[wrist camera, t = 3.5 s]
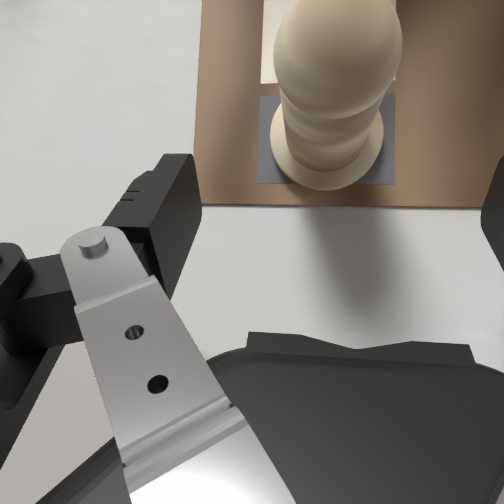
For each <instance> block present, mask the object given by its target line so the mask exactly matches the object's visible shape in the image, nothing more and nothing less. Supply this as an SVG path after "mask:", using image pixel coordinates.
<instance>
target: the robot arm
mask: <svg viewBox="0 0 504 504" xmlns="http://www.w3.org/2000/svg"><path fill="white" fill-rule="evenodd" d="M201 216H202V204H201V197H200V191H199V185H198V179H197V173H196V167H195V161H194V158H193V156H192V154H164V155H163V156H162V158H161V159H160V161H159V162H158V164H157V165H156V167H155V169H154V170H153V171H146V172H145V173H143V174H142V175H140V176H139V177H137V178H136V179H134V180H133V182H132V183H131V184H130V186H129V187H128V189H127V190H126V193H124V194H123V196H122V197H121V199H120V201H119V202H118V203H117V204H116V206H115V207H114V209H113V210H112V212H111V213H110V214H109V216H108V217H107V219H106V220H105V222H104V223H103V224H102V226H100V227H93V228H89V229H86V230H83V231H81V232H79V233H77V234H75V235H73V236H72V237H71V238H69V239H68V240H67V241H66V242H65V243H64V244H63V246H62V248H61V250H60V254H56V255H51V256H45V257H40V258H34V259H28V260H27V258H26V257H25V255H24V253H23V251H22V249H21V248H20V247H19V246H18V245H16V244H13V243H0V469H1V468H2V466H3V464H4V462H5V460H6V458H7V456H8V454H9V452H10V450H11V448H12V446H13V444H14V443H15V441H16V439H17V437H18V435H19V433H20V431H21V429H22V427H23V425H24V423H25V421H26V419H27V417H28V416H29V414H30V412H31V409H32V408H33V406H34V404H35V402H36V400H37V398H38V396H39V394H40V392H41V390H42V389H43V387H44V384H45V383H46V381H47V379H48V377H49V375H50V373H51V371H52V369H53V367H54V365H55V363H56V361H57V360H58V358H59V355H60V354H61V352H62V350H63V348H64V346H65V344H70V343H75V342H80V341H84V342H85V345H86V348H87V352H88V354H89V358H90V361H91V364H92V367H93V370H94V374H95V377H96V380H97V383H98V386H99V389H100V393H101V396H102V399H103V402H104V405H105V408H106V411H107V414H108V418H109V421H110V424H111V427H112V430H113V434H114V437H113V438H112V439H110V440H109V441H108V442H107V443H106V444H105V445H103V446H102V447H101V448H100V449H99V450H98V451H96V452H95V453H94V454H93V455H92V456H91V457H89V458H88V459H87V460H86V461H85V462H83V463H82V464H81V465H80V466H79V467H78V468H77V469H75V470H74V471H73V472H72V473H71V474H69V475H68V476H67V477H66V478H65V479H64V480H62V481H61V482H60V483H59V484H58V485H57V486H55V487H54V488H53V489H52V490H51V491H50V492H48V493H47V494H46V495H45V496H44V497H43V498H41V499H40V500H39V501H38V502H37V503H36V504H504V373H502V372H500V371H498V370H495V369H493V368H490V367H487V366H484V365H481V364H478V363H475V360H474V357H473V354H472V352H471V349H470V346H469V345H467V344H450V343H433V342H417V341H410V342H404V343H397V344H391V345H384V346H378V347H371V348H365V349H352V348H347V347H344V346H340V345H336V344H333V343H329V342H325V341H322V340H318V339H314V338H311V337H307V336H303V335H298V334H281V333H264V332H249V333H248V339H247V345H246V347H245V348H239V349H235V350H231V351H228V352H225V353H222V354H220V355H217V356H214V357H213V358H211V359H209V360H207V361H205V359H204V358H203V356H202V354H201V353H200V351H199V349H198V347H197V346H196V344H195V342H194V341H193V339H192V337H191V336H190V334H189V332H188V331H187V329H186V327H185V326H184V324H183V322H182V321H181V319H180V317H179V315H178V314H177V312H176V310H175V309H174V307H173V305H172V304H171V302H170V300H171V298H172V295H173V293H174V290H175V287H176V285H177V282H178V280H179V277H180V274H181V272H182V269H183V267H184V264H185V261H186V259H187V256H188V254H189V251H190V248H191V246H192V243H193V241H194V238H195V235H196V233H197V230H198V228H199V225H200V222H201ZM481 227H482V230H483V232H484V234H485V236H486V238H487V240H488V242H489V244H490V246H491V248H492V250H493V252H494V254H495V255H496V257H497V259H498V261H499V263H500V265H501V267H502V269H503V271H504V155H503V156H502V157H501V158H500V160H499V162H498V164H497V167H496V170H495V172H494V175H493V178H492V181H491V184H490V187H489V189H488V192H487V195H486V198H485V201H484V204H483V207H482V210H481Z"/></svg>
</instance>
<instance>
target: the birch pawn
mask: <svg viewBox="0 0 504 504" xmlns="http://www.w3.org/2000/svg"><path fill="white" fill-rule="evenodd" d="M402 43H403V40H402V31H401V26H400V21H399V18H398V16H397V13H396V11H395V10H394V8H393V6H392V4H391V3H390V1H389V0H295V1H294V2H293V3H292V4H291V6H290V7H289V8H288V10H287V11H286V13H285V14H284V16H283V18H282V20H281V22H280V24H279V27H278V29H277V33H276V37H275V41H274V48H273V63H274V69H275V74H276V77H277V80H278V83H279V87H280V95H281V104H280V105H279V107H278V108H277V110H276V112H275V114H274V117H273V119H272V123H271V129H270V142H271V148H272V152H273V155H274V158H275V161H276V163H277V165H278V167H279V168H280V170H281V171H282V172H283V173H284V174H285V176H286V177H288V178H289V179H290V180H291V181H293V182H294V183H295V184H297V185H299V186H301V187H303V188H306V189H309V190H314V191H334V190H339V189H342V188H345V187H347V186H350V185H352V184H353V183H355V182H357V181H358V180H359V179H361V178H362V177H363V176H364V175H365V174H366V173H367V172H368V171H369V169H370V168H371V167H372V165H373V163H374V162H375V160H376V158H377V156H378V154H379V152H380V149H381V146H382V142H383V133H384V131H383V122H382V117H381V114H380V112H379V107H380V105H381V102H382V100H383V97H384V95H385V92H386V90H387V89H388V88H389V86H390V84H391V83H392V81H393V79H394V77H395V75H396V73H397V70H398V67H399V64H400V60H401V55H402Z"/></svg>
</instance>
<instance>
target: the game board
mask: <svg viewBox="0 0 504 504" xmlns="http://www.w3.org/2000/svg"><path fill="white" fill-rule="evenodd" d="M294 1H295V0H202V14H201V32H200V49H199V67H198V85H197V102H196V120H195V138H194V155H193V158H194V161H195V167H196V173H197V179H198V185H199V191H200V197H201V204H237V205H315V206H393V207H471V208H482V207H483V204H484V201H485V198H486V195H487V192H488V189H489V187H490V184H491V181H492V178H493V175H494V172H495V170H496V167H497V164H498V162H499V160H500V158H501V157H502V156H503V155H504V0H389V1H390V3H391V4H392V6H393V8H394V10H395V11H396V13H397V16H398V18H399V21H400V26H401V31H402V40H403V43H402V55H401V60H400V64H399V67H398V70H397V73H396V75H395V77H394V79H393V81H392V83H391V84H390V86H389V88H388V89H387V90H386V92H385V95H384V97H383V100H382V102H381V105H380V107H379V112H380V114H381V117H382V122H383V131H384V133H383V142H382V146H381V149H380V152H379V154H378V156H377V158H376V160H375V162H374V163H373V165H372V167H371V168H370V169H369V171H368V172H367V173H366V174H365V175H364V176H363V177H362V178H361V179H359V180H358V181H357V182H355V183H353V184H352V185H350V186H347V187H345V188H342V189H339V190H334V191H314V190H309V189H306V188H303V187H301V186H299V185H297V184H295V183H294V182H293V181H291V180H290V179H289V178H288V177H286V176H285V174H284V173H283V172H282V171H281V170H280V168H279V167H278V165H277V163H276V161H275V158H274V155H273V152H272V148H271V142H270V129H271V123H272V119H273V117H274V114H275V112H276V110H277V108H278V107H279V105H280V104H281V95H280V87H279V83H278V80H277V77H276V74H275V69H274V63H273V48H274V41H275V37H276V33H277V29H278V27H279V24H280V22H281V20H282V18H283V16H284V14H285V13H286V11H287V10H288V8H289V7H290V6H291V4H292V3H293V2H294Z"/></svg>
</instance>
